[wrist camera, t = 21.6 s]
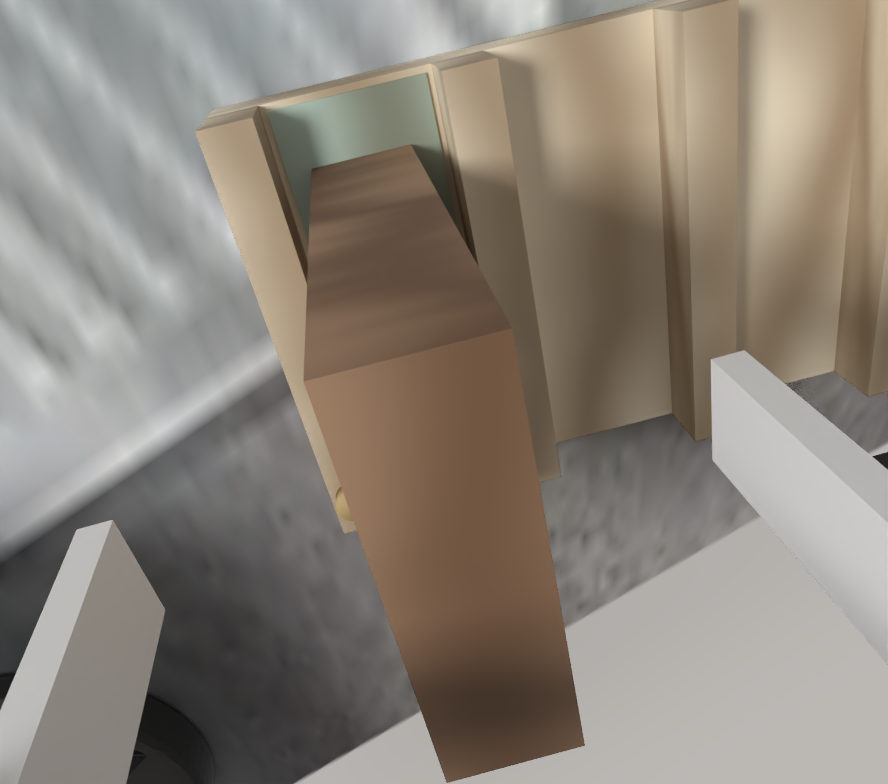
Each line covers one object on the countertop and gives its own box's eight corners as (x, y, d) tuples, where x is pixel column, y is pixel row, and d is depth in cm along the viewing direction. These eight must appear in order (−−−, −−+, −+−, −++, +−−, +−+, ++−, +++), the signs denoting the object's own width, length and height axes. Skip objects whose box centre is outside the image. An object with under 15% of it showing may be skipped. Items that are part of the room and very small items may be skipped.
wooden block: (391, 441, 26) (444, 783, 15) (309, 169, 21) (299, 382, 10) (473, 420, 26) (586, 744, 15) (412, 143, 21) (515, 327, 10)
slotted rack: (341, 475, 29) (344, 544, 25) (212, 110, 21) (191, 136, 18) (846, 344, 29) (918, 394, 26) (885, -55, 22) (993, -61, 18)
